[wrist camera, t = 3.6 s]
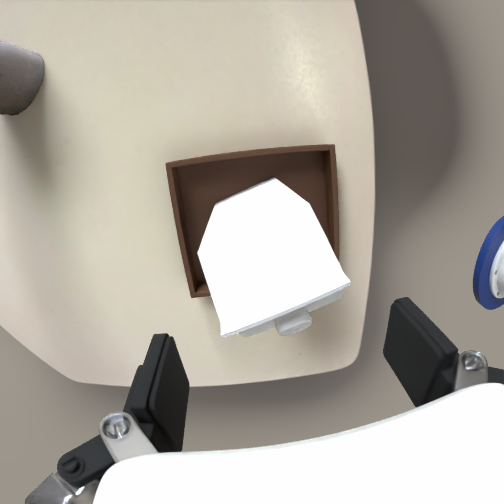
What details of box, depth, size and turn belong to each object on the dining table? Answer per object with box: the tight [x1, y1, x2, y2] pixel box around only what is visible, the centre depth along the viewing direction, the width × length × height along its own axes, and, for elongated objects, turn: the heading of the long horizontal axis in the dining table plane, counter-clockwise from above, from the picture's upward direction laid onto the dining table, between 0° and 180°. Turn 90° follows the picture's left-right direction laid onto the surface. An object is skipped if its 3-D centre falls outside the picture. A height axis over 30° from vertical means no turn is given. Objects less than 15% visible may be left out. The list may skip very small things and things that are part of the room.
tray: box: [166, 144, 339, 298], centre depth 31 cm, size 17×15×3 cm
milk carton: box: [197, 178, 351, 338], centre depth 23 cm, size 7×7×19 cm
